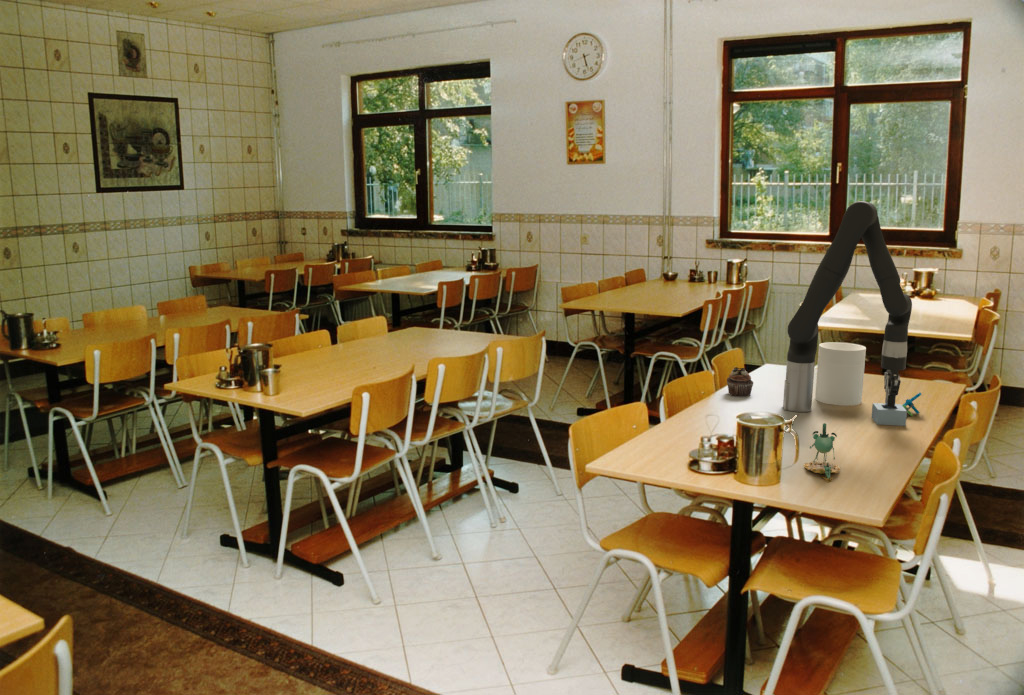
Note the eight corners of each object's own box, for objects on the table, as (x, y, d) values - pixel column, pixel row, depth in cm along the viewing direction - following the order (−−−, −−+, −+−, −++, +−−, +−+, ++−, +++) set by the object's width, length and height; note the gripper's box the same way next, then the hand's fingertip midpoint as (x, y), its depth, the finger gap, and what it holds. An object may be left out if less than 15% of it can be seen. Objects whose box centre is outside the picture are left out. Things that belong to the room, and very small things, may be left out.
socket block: (876, 424, 292) (877, 409, 291) (871, 417, 301) (872, 402, 300) (905, 425, 291) (907, 411, 290) (899, 418, 299) (901, 404, 298)
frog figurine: (800, 479, 239) (803, 425, 237) (805, 467, 255) (808, 416, 254) (837, 484, 235) (841, 429, 234) (840, 471, 251) (844, 419, 250)
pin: (885, 415, 294) (888, 385, 292) (883, 412, 297) (886, 383, 295) (895, 415, 294) (897, 386, 292) (893, 413, 297) (895, 384, 295)
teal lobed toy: (901, 403, 314) (923, 387, 307) (913, 416, 312) (935, 401, 305) (889, 412, 306) (910, 397, 299) (900, 426, 305) (923, 411, 298)
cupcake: (754, 397, 327) (755, 371, 325) (727, 396, 328) (728, 370, 326) (751, 391, 336) (752, 365, 334) (725, 390, 337) (726, 364, 336)
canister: (854, 395, 331) (858, 342, 327) (867, 406, 316) (871, 351, 312) (810, 394, 333) (814, 341, 329) (820, 404, 317) (824, 349, 313)
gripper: (877, 349, 299) (873, 399, 302) (886, 357, 286) (881, 409, 289) (901, 350, 298) (897, 400, 301) (911, 358, 284) (906, 411, 287)
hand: (889, 404), depth 295 cm, fingers closed on pin, 2 cm apart
